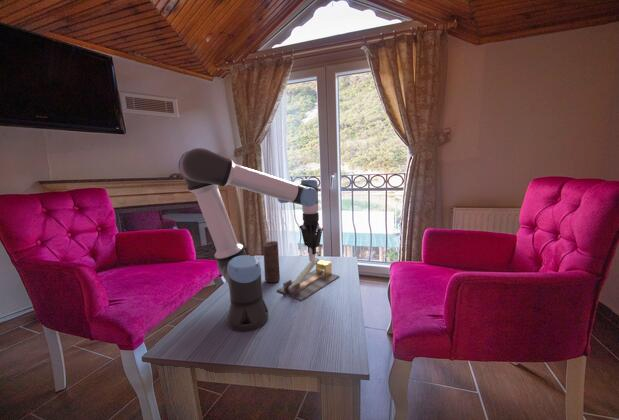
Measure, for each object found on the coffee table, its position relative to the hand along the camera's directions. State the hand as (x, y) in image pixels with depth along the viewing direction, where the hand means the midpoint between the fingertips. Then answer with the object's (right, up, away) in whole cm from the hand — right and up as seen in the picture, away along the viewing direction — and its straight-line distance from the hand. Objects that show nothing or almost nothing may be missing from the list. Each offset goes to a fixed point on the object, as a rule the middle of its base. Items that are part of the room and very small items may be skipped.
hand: (312, 260), depth 127 cm
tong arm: (-4, -6, -4) cm, 8 cm away
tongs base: (-1, -11, 0) cm, 11 cm away
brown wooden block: (-20, -11, +4) cm, 23 cm away
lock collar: (+6, -9, +9) cm, 14 cm away
